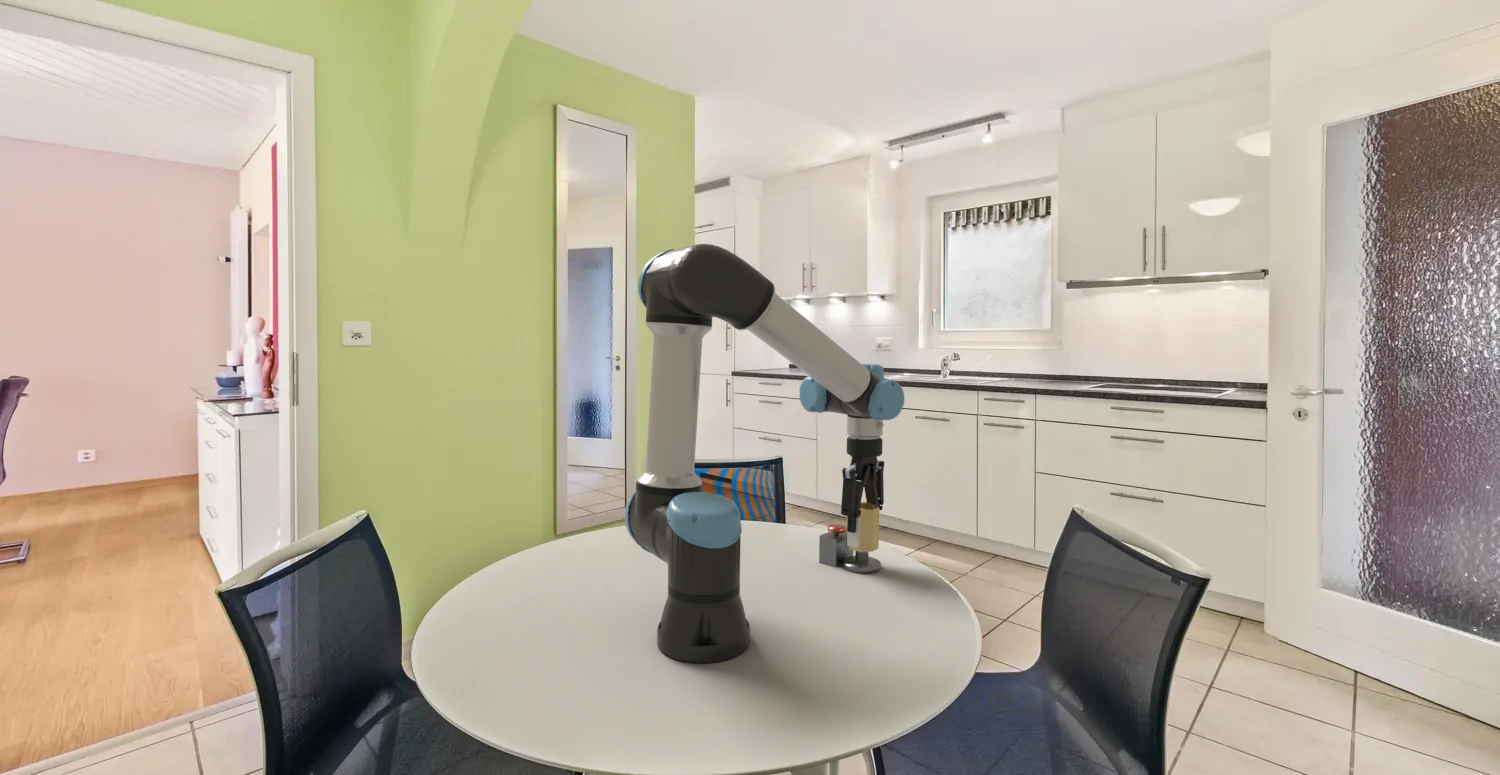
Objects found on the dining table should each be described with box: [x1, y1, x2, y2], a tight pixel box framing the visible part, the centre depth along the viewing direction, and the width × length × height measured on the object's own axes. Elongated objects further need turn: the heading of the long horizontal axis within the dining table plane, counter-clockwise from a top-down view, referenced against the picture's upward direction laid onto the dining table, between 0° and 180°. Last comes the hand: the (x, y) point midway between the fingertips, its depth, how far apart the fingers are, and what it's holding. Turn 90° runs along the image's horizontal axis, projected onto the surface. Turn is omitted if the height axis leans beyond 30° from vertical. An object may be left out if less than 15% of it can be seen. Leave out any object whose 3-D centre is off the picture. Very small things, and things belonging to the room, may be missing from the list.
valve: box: [818, 523, 882, 575], centre depth 148 cm, size 8×13×8 cm, turn 50°
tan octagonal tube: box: [846, 501, 880, 552], centre depth 146 cm, size 6×6×9 cm
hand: (862, 542), depth 147 cm, fingers closed on tan octagonal tube, 6 cm apart
